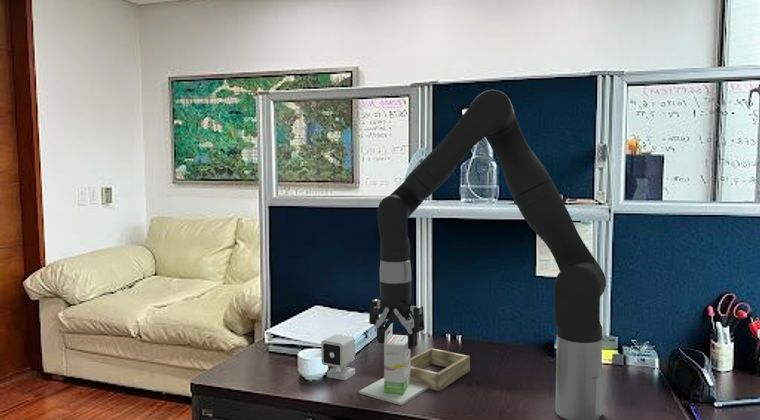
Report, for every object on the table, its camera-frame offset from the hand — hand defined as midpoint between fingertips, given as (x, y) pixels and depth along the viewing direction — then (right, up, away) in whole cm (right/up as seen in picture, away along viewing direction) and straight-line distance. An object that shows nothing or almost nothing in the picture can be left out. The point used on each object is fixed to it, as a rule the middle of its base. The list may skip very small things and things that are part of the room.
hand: (396, 345), depth 141 cm
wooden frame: (+10, -10, +10) cm, 17 cm away
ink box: (0, -11, +1) cm, 11 cm away
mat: (0, -11, +1) cm, 11 cm away
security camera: (-14, -10, +10) cm, 21 cm away
